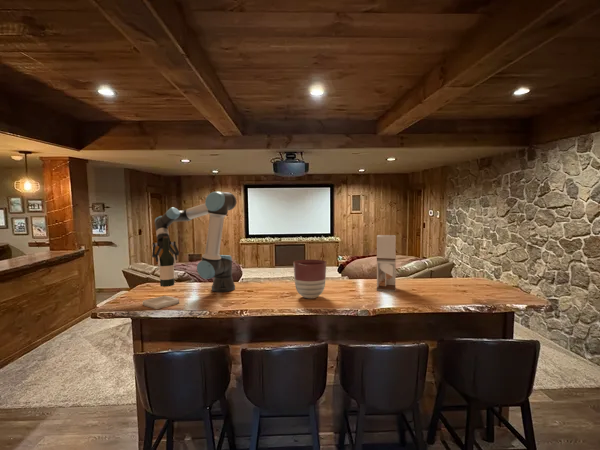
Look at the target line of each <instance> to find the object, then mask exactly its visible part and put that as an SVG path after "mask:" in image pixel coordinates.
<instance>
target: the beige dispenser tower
mask: <svg viewBox="0 0 600 450" xmlns="http://www.w3.org/2000/svg"><path fill="white" fill-rule="evenodd" d="M396 239H397V236H396V235H394V234H393V235H392V234H377V235H376V292H377V291H378V292H389V293H390V292H391V293H392V292H393V293H395V292H396V280H397V278H396V275H397V274H396V273H397V271H396V269H397V268H396V265H397V264H396V263H397V262H396V261H397V257H396V256H397V255H396V252H397V251H396V250H397V248H396V247H397V241H396Z"/></svg>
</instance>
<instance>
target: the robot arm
mask: <svg viewBox="0 0 600 450" xmlns="http://www.w3.org/2000/svg"><path fill="white" fill-rule="evenodd" d="M236 206H237V198H236V196H235V195H234V193H232V192H229V191H228V192H227V191H226V192H225V191H212V192H210V193H209V194H208V195H206V198H205V202H204V203H201V204H199V205H196V206H193V207H188V208H186V209H183V210H182V209H181V210H179V209H178V208H176V207H174V206H172V207H170V208H169V209H167V210H166V211H165V213H163V215H159V216H157V217H155V219H154V227H155V228H154V229H155V234H156V243H155V242H152V253H151V257H152V258H154V259H155V261H156V263H157V265H158V267H159V268H160V253H161V251H162V250H163V237H168V239H169V252H170V253H171V255H172V256H173V260H174V266H176V265H177V260H178V256H179V255H180V251H179V249H178V247H177V244H176V241H171V239H170V232H169V227H170V226H171V225H172V224H173V223H175V222H176V223H177V222H189V221H191V220H193V219H196V218H200V217H203V216H206V215H209V220H208V227H207V228H208V229H207V234H206V235H207V236H206V243H205V251H204V252H205V253H204V254H202V256H201V261H199V262H198V264H197V265H196V271H197V274H198V275H199V276H200V278H202V279H204V280H209V279H213V281H212V284H211V291H212V292H216V293H225V292H227V293H228V292H231V291H234V290H236V284H235V281H234V279H233V259H232V255H229V254H228V255H227V254H220V252H221V243H222V237H223V229H224V224H225V217H227V215H228V212H229V211H232V210H233V209H234V208H235V207H236ZM157 247H158V249H157V251H156V248H157ZM172 247H173V248H172Z"/></svg>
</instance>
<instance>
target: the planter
mask: <svg viewBox="0 0 600 450" xmlns="http://www.w3.org/2000/svg"><path fill="white" fill-rule="evenodd" d="M326 272H327V261H325V260H324V259H323V260H321V259H300V260H299V259H298V260H294V261H293V274H294V275H293V276H294V277H293V278H294V286H295V289H296V291H297V293H298V294H299V295H300V296H301V297H303V298H304V299H310V300H311V299H315V298H317V297H319V296H321V294H322V293H323V292H324V291H325V286H326V275H327V273H326Z"/></svg>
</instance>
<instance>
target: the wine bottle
mask: <svg viewBox="0 0 600 450" xmlns="http://www.w3.org/2000/svg"><path fill="white" fill-rule="evenodd" d="M159 259H160V267H159V283H160V284H159V285H160V287H163V288H166V287H173V286H175V265H174V260H173V254H172V253H171V252H170V251H169V239H168V237H163V249H162V253H161V254H160V256H159Z"/></svg>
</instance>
